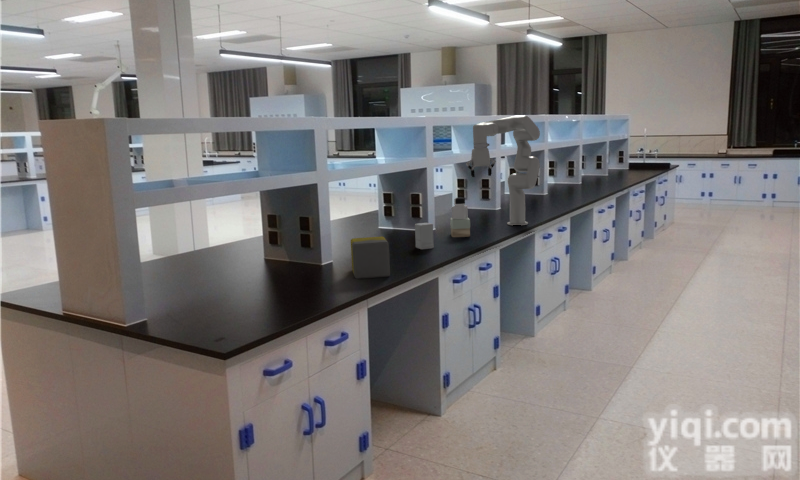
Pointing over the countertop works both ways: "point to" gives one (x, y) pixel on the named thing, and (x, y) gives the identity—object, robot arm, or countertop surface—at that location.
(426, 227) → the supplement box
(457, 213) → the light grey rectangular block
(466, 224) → the tower top block
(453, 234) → the tower base block
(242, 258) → the countertop surface
